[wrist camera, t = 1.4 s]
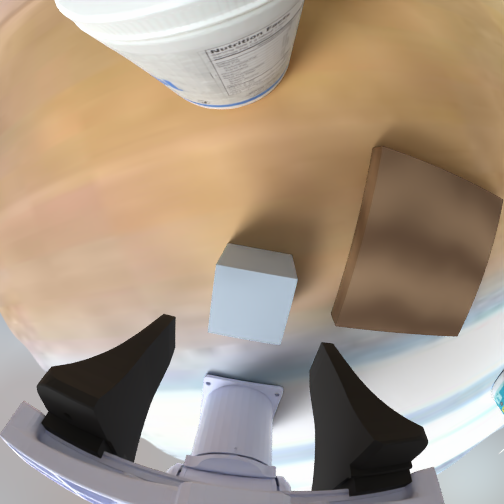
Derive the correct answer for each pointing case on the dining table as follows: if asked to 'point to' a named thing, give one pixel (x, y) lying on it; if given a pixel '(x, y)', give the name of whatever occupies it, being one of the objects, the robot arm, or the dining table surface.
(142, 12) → the supplement tub
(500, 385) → the pill bottle
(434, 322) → the base
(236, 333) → the block
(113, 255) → the dining table surface
